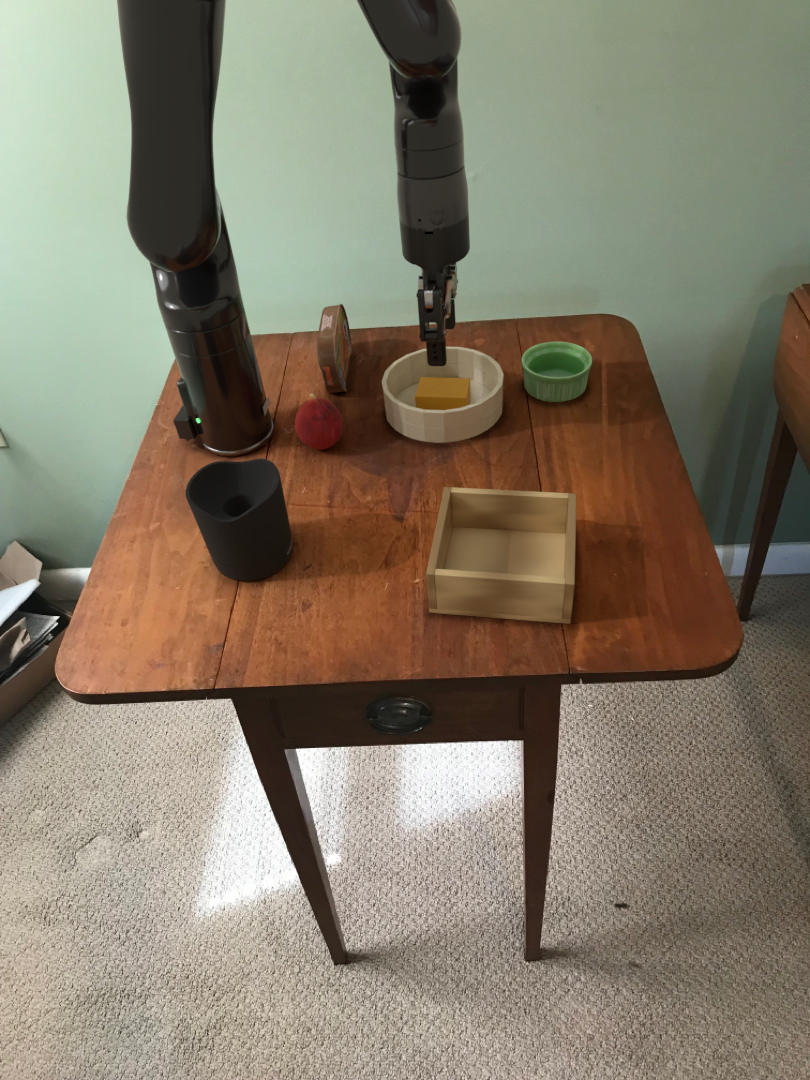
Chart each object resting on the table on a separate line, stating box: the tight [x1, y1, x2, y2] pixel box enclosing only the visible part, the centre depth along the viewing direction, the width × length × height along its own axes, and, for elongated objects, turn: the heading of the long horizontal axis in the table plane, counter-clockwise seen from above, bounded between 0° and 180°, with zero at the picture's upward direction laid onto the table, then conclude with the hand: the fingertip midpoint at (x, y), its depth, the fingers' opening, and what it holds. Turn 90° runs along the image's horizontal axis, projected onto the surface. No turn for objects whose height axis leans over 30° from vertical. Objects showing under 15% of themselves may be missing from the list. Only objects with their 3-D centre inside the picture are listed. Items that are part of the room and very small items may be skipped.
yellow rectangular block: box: [415, 377, 471, 410], centre depth 99 cm, size 6×4×3 cm
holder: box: [425, 486, 578, 625], centre depth 77 cm, size 14×13×6 cm
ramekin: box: [520, 341, 593, 403], centre depth 100 cm, size 9×9×4 cm
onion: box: [294, 392, 344, 451], centre depth 93 cm, size 6×6×8 cm
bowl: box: [381, 346, 505, 444], centre depth 98 cm, size 15×15×5 cm
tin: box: [316, 303, 353, 394], centre depth 106 cm, size 15×3×8 cm, turn 179°
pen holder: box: [185, 458, 294, 582], centre depth 80 cm, size 9×9×10 cm
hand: (442, 345), depth 94 cm, fingers open, 8 cm apart
